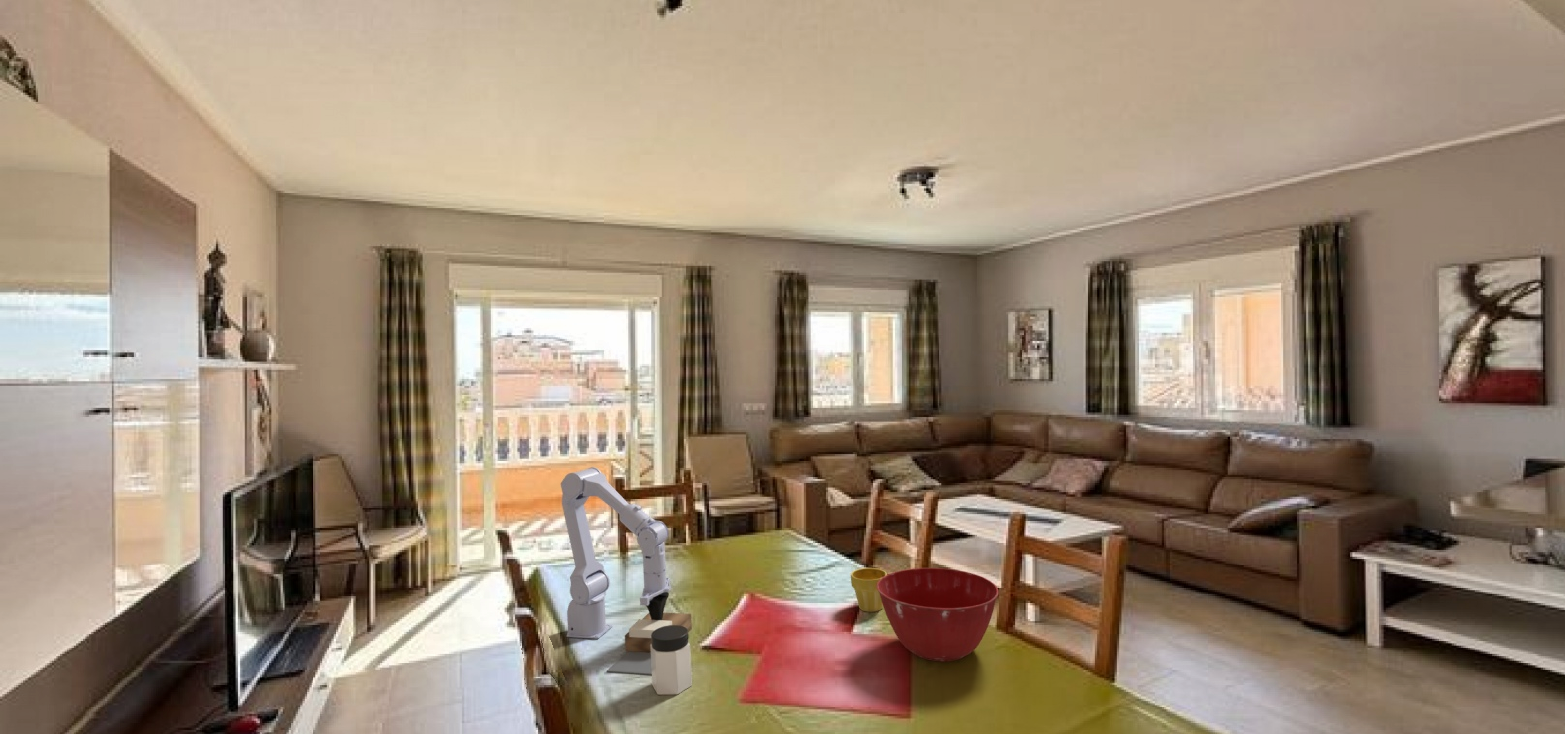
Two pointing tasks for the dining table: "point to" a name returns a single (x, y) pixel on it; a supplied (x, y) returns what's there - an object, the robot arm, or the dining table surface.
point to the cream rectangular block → (646, 627)
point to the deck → (644, 643)
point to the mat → (633, 663)
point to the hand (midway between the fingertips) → (657, 622)
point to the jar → (670, 660)
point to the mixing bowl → (938, 610)
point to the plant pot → (867, 588)
